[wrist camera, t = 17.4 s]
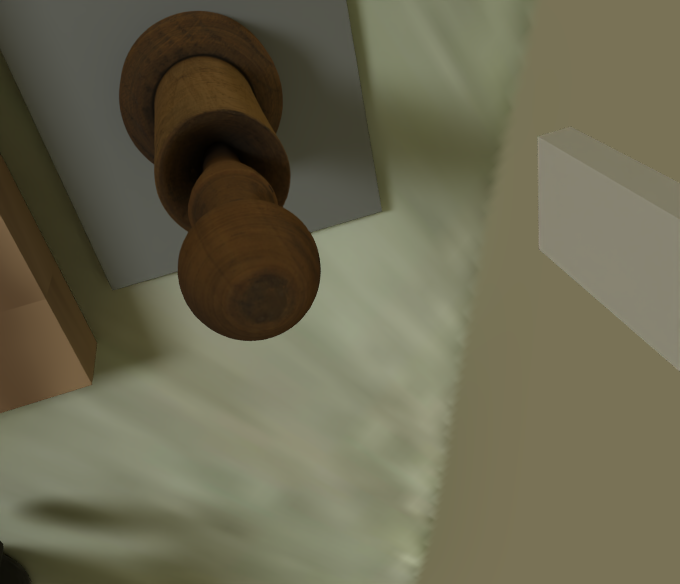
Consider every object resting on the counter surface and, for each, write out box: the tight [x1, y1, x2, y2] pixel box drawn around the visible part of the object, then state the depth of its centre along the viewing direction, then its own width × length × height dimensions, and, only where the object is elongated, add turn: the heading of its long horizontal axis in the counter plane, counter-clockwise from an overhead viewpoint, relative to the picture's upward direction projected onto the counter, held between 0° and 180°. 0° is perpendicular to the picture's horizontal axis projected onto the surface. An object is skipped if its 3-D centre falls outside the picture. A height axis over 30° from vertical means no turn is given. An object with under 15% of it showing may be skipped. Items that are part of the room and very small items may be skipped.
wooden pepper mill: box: [119, 11, 321, 341], centre depth 20 cm, size 7×6×18 cm
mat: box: [0, 0, 382, 290], centre depth 28 cm, size 14×16×1 cm
